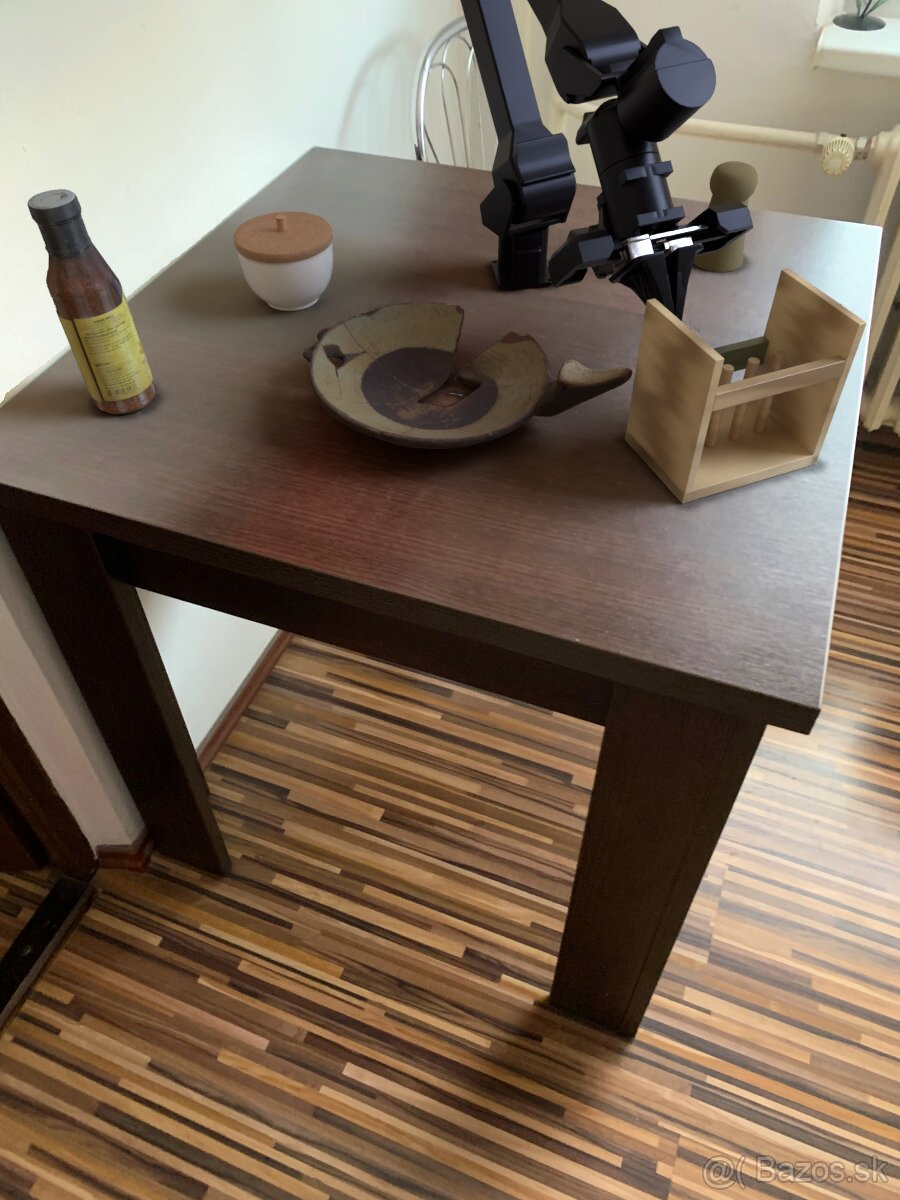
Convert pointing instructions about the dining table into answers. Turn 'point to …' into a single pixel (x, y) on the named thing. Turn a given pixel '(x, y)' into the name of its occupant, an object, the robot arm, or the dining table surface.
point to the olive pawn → (727, 187)
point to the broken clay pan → (440, 378)
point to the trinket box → (286, 258)
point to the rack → (740, 393)
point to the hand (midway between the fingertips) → (674, 335)
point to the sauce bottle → (92, 307)
